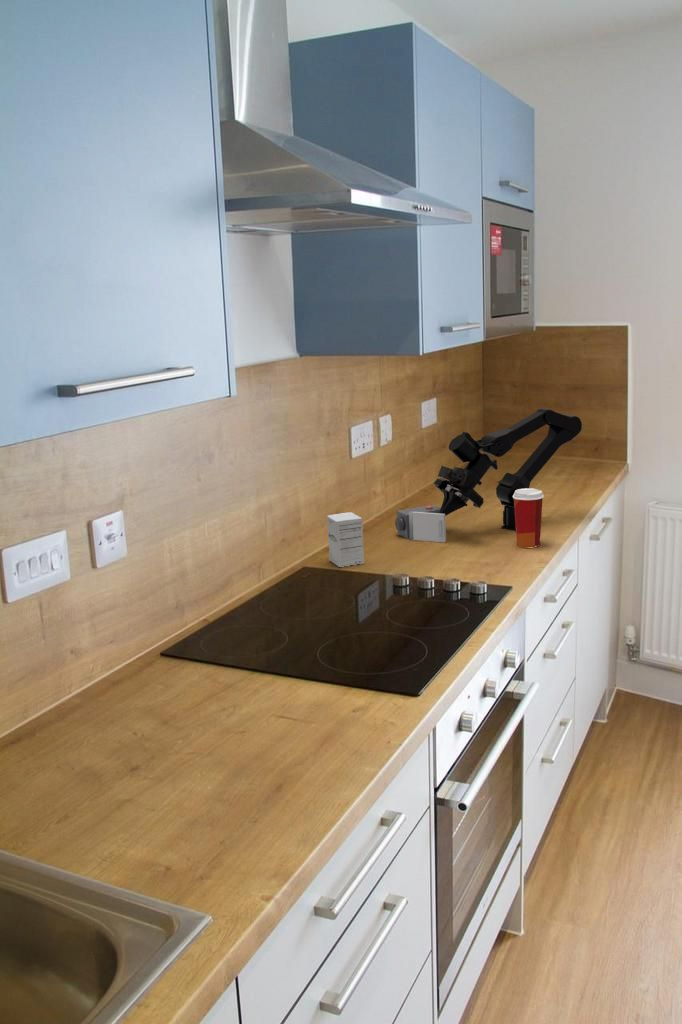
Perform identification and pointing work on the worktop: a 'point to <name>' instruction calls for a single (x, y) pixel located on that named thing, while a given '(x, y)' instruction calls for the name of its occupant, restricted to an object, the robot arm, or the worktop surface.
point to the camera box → (403, 518)
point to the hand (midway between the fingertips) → (440, 516)
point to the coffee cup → (528, 516)
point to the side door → (427, 526)
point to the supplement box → (345, 539)
